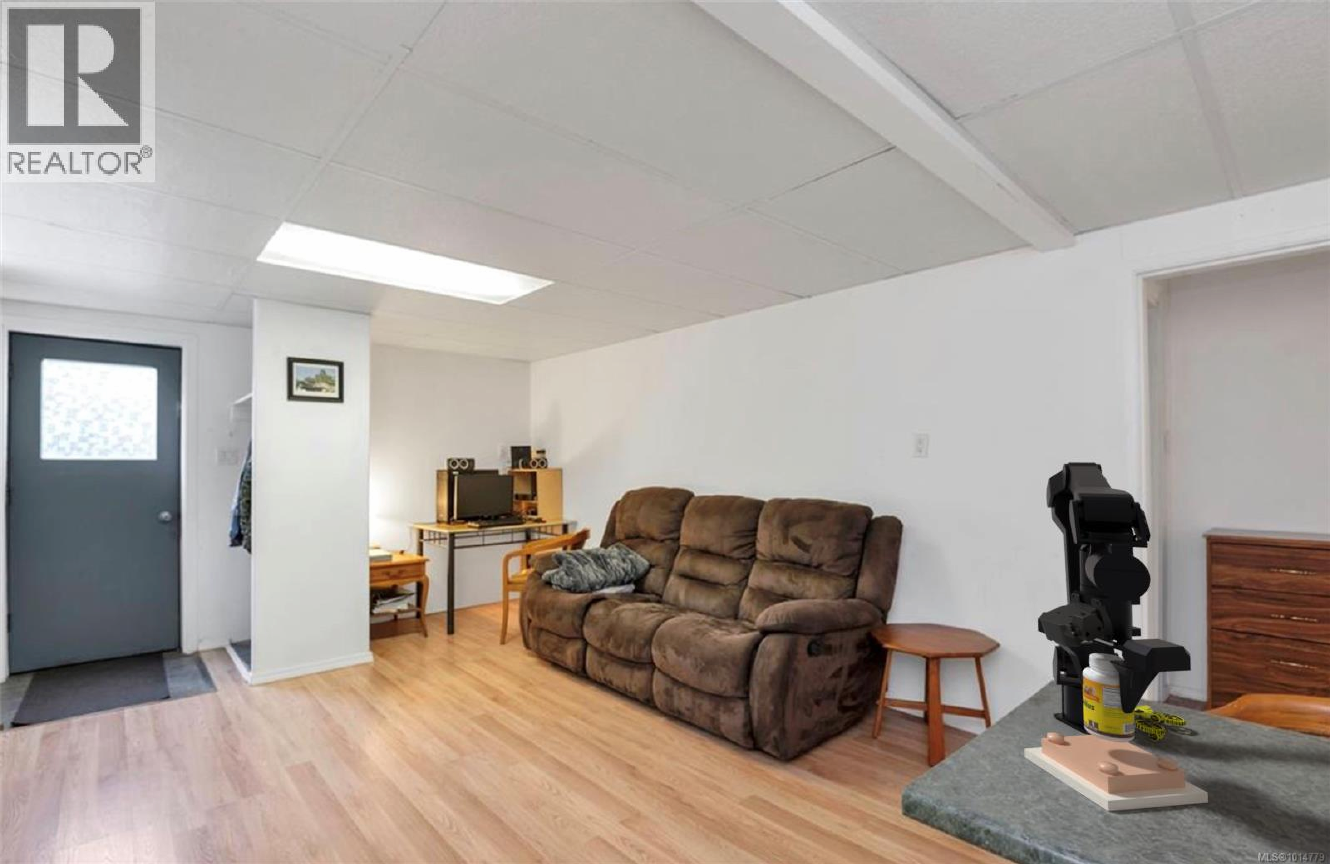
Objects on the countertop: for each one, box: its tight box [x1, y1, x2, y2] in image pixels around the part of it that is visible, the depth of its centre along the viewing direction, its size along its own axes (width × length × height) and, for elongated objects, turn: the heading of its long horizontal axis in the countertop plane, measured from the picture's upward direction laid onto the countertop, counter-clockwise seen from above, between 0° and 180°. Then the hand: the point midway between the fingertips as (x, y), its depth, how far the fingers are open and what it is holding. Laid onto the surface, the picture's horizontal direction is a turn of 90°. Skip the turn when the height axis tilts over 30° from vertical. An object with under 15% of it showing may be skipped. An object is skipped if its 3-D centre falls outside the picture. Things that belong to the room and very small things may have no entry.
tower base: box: [1024, 731, 1209, 812], centre depth 84 cm, size 14×14×4 cm
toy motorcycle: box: [1134, 705, 1187, 742], centre depth 99 cm, size 12×4×7 cm
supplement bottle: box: [1083, 653, 1135, 743], centre depth 85 cm, size 6×6×10 cm
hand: (1108, 703), depth 85 cm, fingers closed on supplement bottle, 6 cm apart
